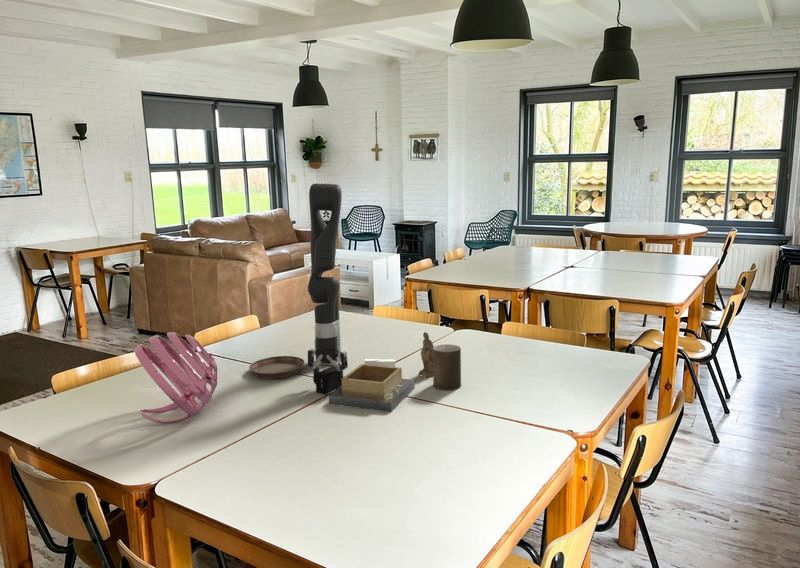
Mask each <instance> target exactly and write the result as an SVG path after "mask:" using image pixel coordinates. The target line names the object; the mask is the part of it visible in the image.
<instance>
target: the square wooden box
mask: <svg viewBox="0 0 800 568" xmlns="http://www.w3.org/2000/svg"><path fill="white" fill-rule="evenodd" d="M341 380H342V385H341V386H340V387H339V388H337V389H336V390H334V391H332V392H330V393H329V394H327V395H328V396H327V397H328V405H332V404H334V406H340V405H342V406H341V407H348V406H349V408H350V406H351V408H356V407H358V408H357V409H364V408H366V409H365V410H372V409H373V410H372V411H380V410H381V411H380V412H382V411H383V412H388V411H389V412H390V413H391V412H393V411H394V410H395V409H396V408H397V407H398V406H399V405H400V404H401V403H402V402H403V401H404V400H405V399H404V398H406V397H407V396H408V395H409V394H410V393H411V392H412V391H413V390H415V389H416V388H415V379H408V378H403V373H402V367H397V366H396V367H387V366H377V365H367V364H365V363H361V364H360V365H358V366H357V367H355V368H354V369H352V371H350V372H348V374H346V375H344V376H343V378H342V379H341ZM403 399H404V400H403ZM402 400H403V401H402ZM401 401H402V402H401ZM400 402H401V403H400ZM399 403H400V404H399ZM398 404H399V405H398Z"/></svg>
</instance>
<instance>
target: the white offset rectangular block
mask: <svg viewBox="0 0 800 568" xmlns="http://www.w3.org/2000/svg"><path fill="white" fill-rule="evenodd" d="M364 364H367V365H377V366H387V367H397V366H396V359H380V358H365V359H364Z"/></svg>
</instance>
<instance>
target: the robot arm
mask: <svg viewBox="0 0 800 568" xmlns="http://www.w3.org/2000/svg"><path fill="white" fill-rule="evenodd" d="M342 199H343V198H342V187H341V186H340V185H339V184H334V183H333V184H332V183H312V184H311V185H310V187H309V193H308V202H309V215H310V264H311V265H310V266H311V270H310V271H311V275H310V277H309V281H308V284H307V291H308V292H307V293H308V295H309V297H310V299H311V301H312V302H313V303H314V304H317V305H315V307H314V337H315V338H314V348H310V349H309V350H307V367H309V368H312V371H313V374H312V375H314V374H315V373H316V372H317V371H320V367H319V366H320V365H323V366H334V367H335V368H336V369H337V381H341V379H342V378H343V377H344V370H346V369H348V367H349V364H348V355H347V354H348V353H347V351H346V350H344V351H342V348H341V347H342V346H341V328H340V326H341V325H340V309H339V308H340V306H339V305H340V304H339V300H340V298H339V297H340V283H339V282H340V281H339V280H338V279H337V277H333V276H323V274H324V273H325V272H328V271H333V270H334V269H335V267H336V254H337V253H336V252H337V236H338V229H339V225H340V217H341V207H342ZM322 211H323V212H324V211H326V212H331V213H330V217H329V221H328V222H327V223H326V221H325V220H324V219H323V217H322V215H321V212H322Z"/></svg>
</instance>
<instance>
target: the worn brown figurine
mask: <svg viewBox="0 0 800 568" xmlns="http://www.w3.org/2000/svg"><path fill="white" fill-rule="evenodd" d="M433 343H434V342H433V341H432V340H431V339H430V337H429V334H428V333H427V332H426V331H424V332H423V340H422V348H421V351H420V356H421V360H422V363H423V368H422V369H421V370H419V372H418V376H420V375H422V376H421V377H424V376H425V377H424V378H429V377H432V376H433V347H435V346H434V344H433Z"/></svg>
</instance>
